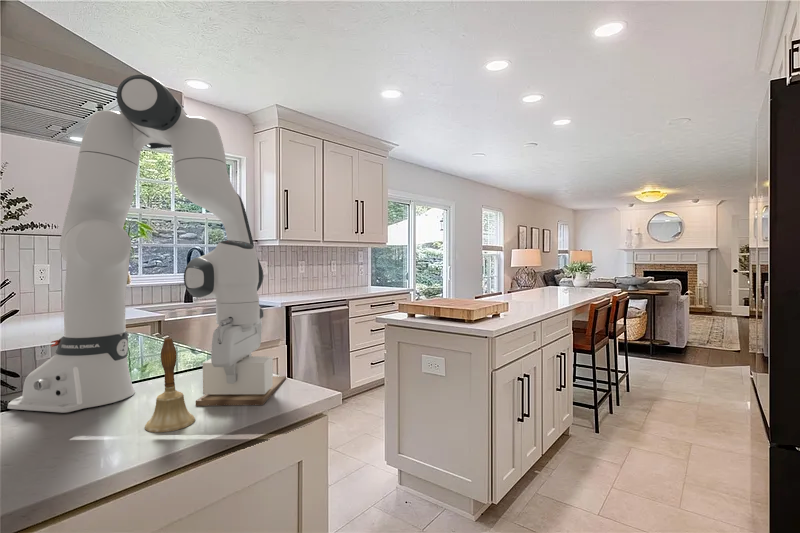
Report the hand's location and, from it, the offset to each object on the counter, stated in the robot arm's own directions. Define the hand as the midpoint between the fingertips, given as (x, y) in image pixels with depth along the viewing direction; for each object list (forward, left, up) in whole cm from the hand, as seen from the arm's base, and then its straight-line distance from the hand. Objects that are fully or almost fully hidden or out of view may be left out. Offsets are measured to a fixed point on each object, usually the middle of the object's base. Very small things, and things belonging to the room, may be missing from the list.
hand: (238, 377), depth 94 cm
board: (0, +5, -5) cm, 7 cm away
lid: (0, 0, -3) cm, 3 cm away
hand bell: (-7, -14, -5) cm, 17 cm away
